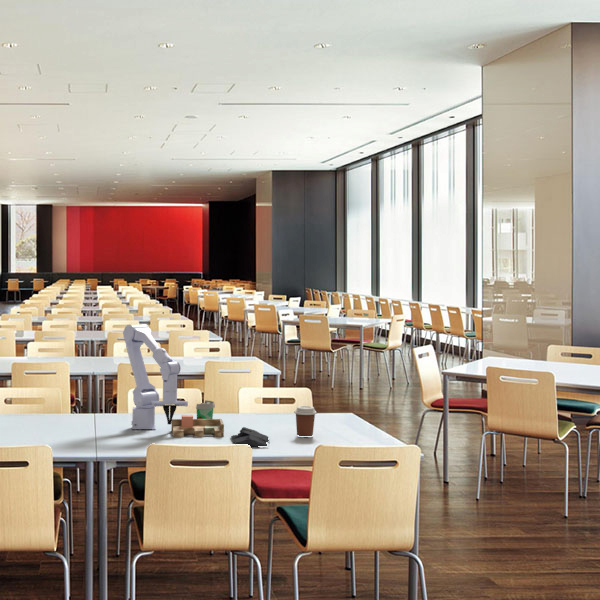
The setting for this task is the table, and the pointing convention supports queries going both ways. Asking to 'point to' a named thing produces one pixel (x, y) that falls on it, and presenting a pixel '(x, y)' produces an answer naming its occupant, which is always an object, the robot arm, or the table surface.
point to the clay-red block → (187, 421)
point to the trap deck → (199, 428)
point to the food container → (205, 410)
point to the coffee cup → (305, 420)
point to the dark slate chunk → (250, 438)
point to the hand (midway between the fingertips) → (169, 424)
